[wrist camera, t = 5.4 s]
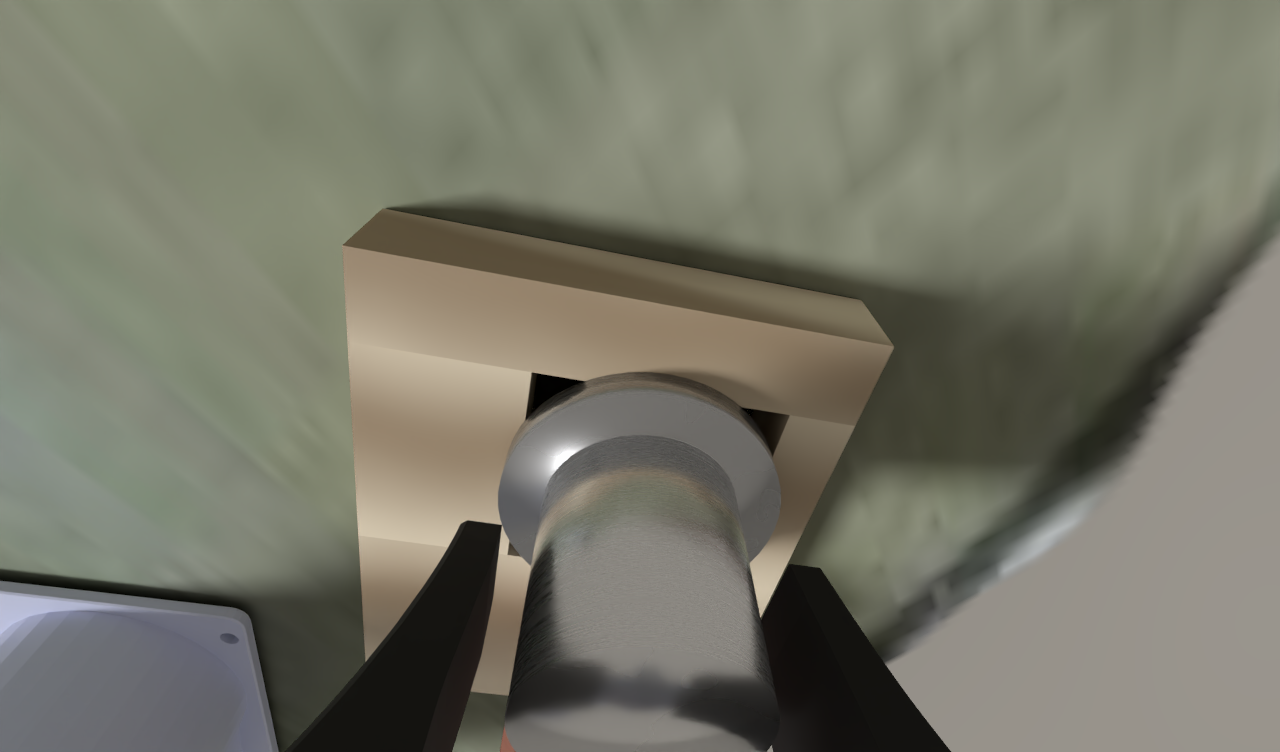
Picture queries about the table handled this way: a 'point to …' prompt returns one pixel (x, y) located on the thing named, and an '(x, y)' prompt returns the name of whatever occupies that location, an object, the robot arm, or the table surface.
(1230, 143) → the table surface
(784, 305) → the hitch block
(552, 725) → the silver knob
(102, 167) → the table surface
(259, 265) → the table surface
